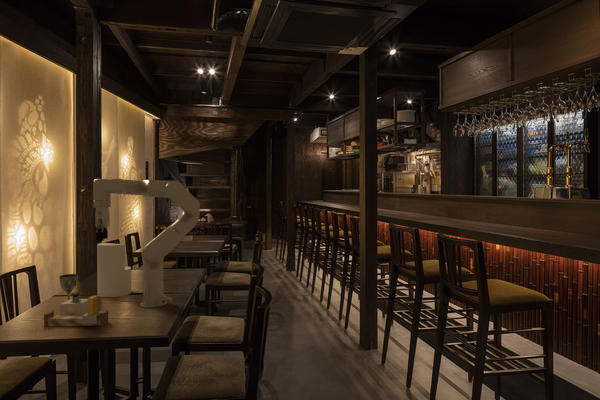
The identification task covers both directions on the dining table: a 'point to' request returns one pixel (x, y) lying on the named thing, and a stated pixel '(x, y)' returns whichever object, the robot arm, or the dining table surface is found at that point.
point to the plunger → (75, 297)
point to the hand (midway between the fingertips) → (102, 239)
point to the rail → (72, 320)
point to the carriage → (92, 311)
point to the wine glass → (68, 283)
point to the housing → (73, 308)
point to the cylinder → (112, 270)
